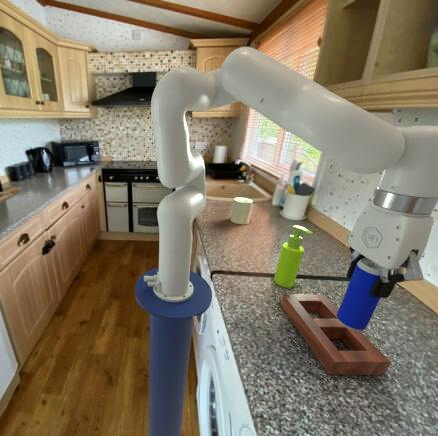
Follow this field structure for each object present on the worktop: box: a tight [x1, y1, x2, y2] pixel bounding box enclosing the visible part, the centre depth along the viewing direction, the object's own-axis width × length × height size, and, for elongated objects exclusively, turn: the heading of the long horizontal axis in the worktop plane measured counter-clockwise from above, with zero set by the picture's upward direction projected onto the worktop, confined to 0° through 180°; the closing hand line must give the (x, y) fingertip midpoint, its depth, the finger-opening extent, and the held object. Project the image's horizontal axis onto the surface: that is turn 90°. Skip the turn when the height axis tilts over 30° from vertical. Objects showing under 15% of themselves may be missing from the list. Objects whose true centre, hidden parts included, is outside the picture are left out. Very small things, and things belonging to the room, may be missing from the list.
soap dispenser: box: [273, 224, 314, 289], centre depth 75 cm, size 6×7×20 cm
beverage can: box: [337, 258, 393, 331], centre depth 50 cm, size 5×5×15 cm
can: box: [230, 196, 254, 225], centre depth 124 cm, size 9×9×12 cm
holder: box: [280, 293, 392, 376], centre depth 60 cm, size 12×20×4 cm, turn 0°
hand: (366, 285), depth 49 cm, fingers closed on beverage can, 5 cm apart
